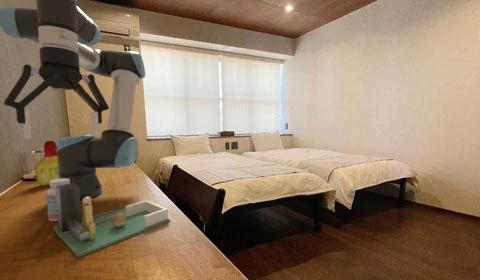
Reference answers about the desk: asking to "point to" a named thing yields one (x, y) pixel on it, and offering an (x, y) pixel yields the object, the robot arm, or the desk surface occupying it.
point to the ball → (119, 220)
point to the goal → (156, 211)
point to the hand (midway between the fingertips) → (64, 137)
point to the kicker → (74, 212)
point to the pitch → (107, 232)
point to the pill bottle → (54, 197)
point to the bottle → (48, 165)
